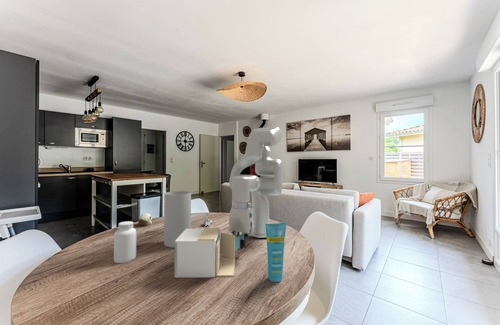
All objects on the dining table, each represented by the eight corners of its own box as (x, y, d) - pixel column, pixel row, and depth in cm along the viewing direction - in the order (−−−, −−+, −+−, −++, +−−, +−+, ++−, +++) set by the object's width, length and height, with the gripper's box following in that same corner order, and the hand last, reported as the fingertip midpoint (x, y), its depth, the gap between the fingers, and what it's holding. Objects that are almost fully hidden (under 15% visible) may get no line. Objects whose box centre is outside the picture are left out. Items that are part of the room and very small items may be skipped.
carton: (235, 258, 86) (235, 227, 86) (233, 277, 72) (233, 239, 72) (186, 258, 86) (186, 227, 86) (174, 277, 72) (174, 239, 72)
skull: (140, 220, 138) (152, 209, 138) (150, 232, 136) (161, 221, 136) (128, 224, 126) (141, 212, 126) (139, 237, 124) (151, 225, 124)
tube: (267, 283, 69) (267, 225, 69) (263, 275, 73) (263, 221, 73) (288, 280, 70) (288, 224, 70) (282, 273, 75) (283, 220, 75)
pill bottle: (140, 256, 88) (140, 221, 88) (123, 265, 80) (123, 226, 80) (126, 253, 91) (126, 219, 91) (108, 262, 83) (109, 224, 83)
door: (231, 249, 93) (231, 227, 93) (244, 252, 89) (244, 230, 89) (220, 255, 86) (220, 232, 86) (234, 259, 83) (234, 235, 83)
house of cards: (218, 226, 131) (218, 214, 131) (204, 228, 128) (204, 215, 128) (216, 222, 139) (216, 211, 139) (203, 224, 137) (203, 212, 137)
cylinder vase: (183, 237, 112) (183, 190, 112) (195, 243, 103) (195, 192, 103) (159, 243, 103) (160, 192, 103) (170, 250, 94) (170, 195, 94)
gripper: (260, 205, 89) (260, 248, 89) (230, 201, 96) (230, 241, 96) (253, 208, 82) (252, 254, 82) (220, 204, 90) (220, 247, 89)
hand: (240, 247), depth 89 cm, fingers closed
